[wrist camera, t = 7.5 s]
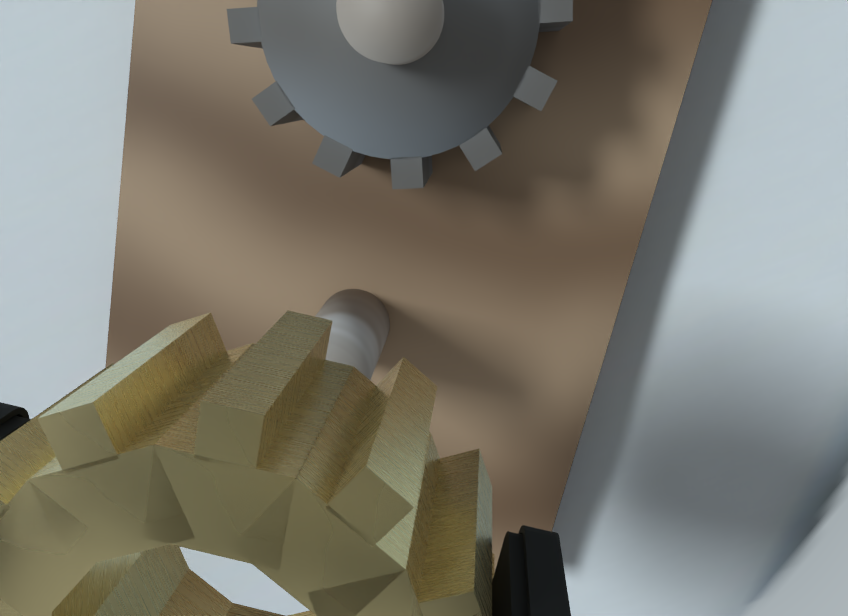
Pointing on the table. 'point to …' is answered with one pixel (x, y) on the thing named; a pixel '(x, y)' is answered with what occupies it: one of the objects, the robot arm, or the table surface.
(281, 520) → the brass gear
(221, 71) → the gear board
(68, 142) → the table surface
